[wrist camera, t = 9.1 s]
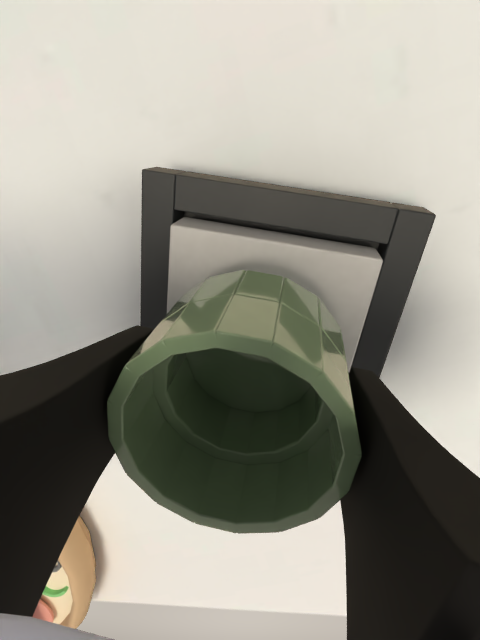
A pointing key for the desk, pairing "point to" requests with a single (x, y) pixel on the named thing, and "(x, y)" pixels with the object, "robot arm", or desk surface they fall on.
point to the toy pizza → (70, 581)
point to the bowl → (240, 407)
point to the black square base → (292, 218)
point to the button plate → (278, 267)
